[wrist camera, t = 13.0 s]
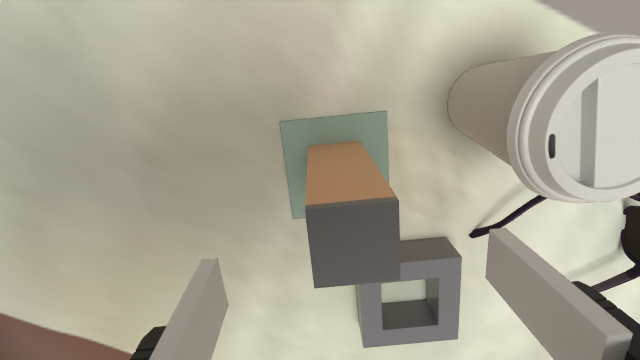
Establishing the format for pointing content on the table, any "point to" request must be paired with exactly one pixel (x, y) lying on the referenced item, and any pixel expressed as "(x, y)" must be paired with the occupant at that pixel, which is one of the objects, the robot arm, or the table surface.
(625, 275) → the sunglasses
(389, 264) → the plug
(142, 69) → the table surface
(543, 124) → the coffee cup
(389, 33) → the table surface
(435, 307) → the grey square frame
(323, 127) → the pad
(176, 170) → the table surface
